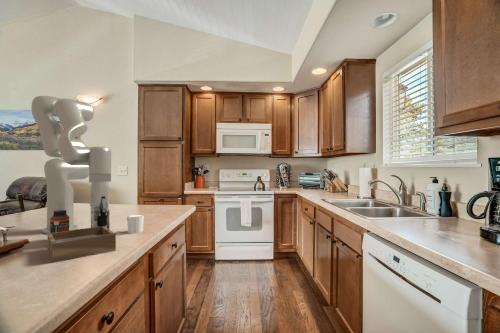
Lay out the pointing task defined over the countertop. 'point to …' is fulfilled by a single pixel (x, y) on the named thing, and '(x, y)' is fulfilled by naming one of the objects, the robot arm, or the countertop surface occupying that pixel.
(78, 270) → the countertop surface
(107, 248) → the crate
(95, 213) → the syrup box
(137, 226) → the white cup
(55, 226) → the supplement bottle
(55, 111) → the robot arm
